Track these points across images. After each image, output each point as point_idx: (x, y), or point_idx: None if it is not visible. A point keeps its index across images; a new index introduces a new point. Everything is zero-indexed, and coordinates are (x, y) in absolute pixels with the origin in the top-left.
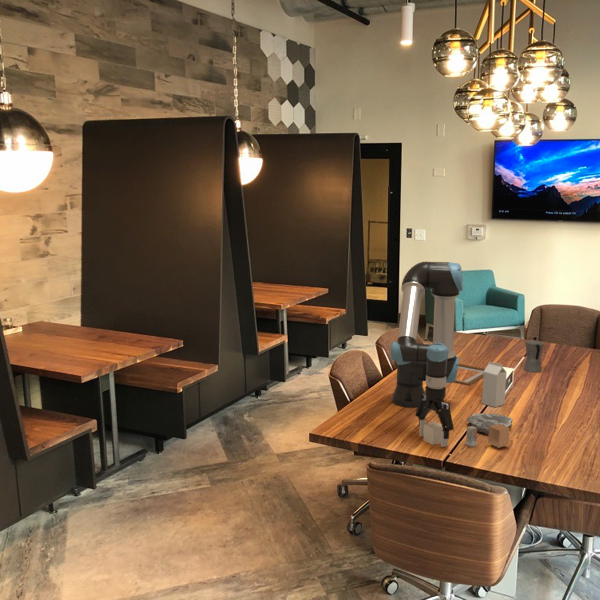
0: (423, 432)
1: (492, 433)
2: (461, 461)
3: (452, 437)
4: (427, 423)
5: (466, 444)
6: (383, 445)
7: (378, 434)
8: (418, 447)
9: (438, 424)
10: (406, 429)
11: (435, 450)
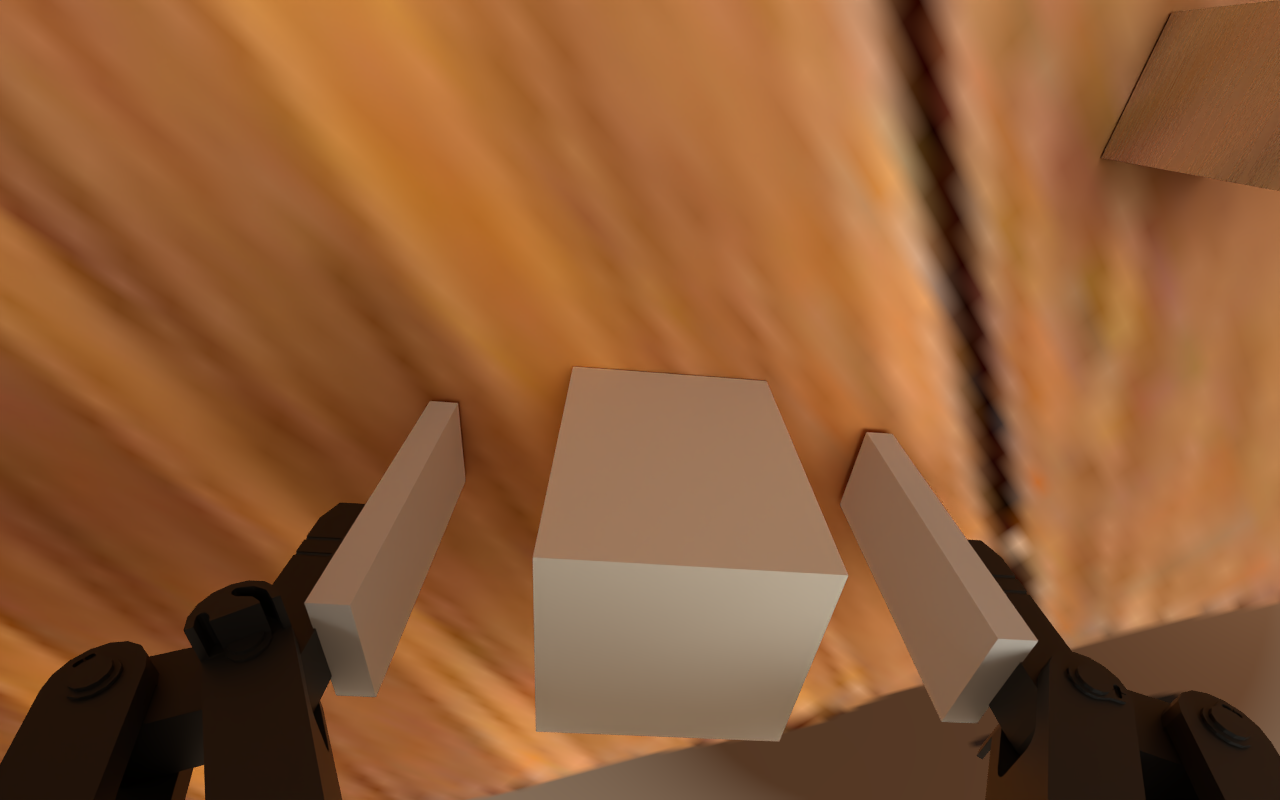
0: (446, 471)
1: None
2: (1192, 575)
3: (747, 86)
4: (544, 688)
5: (1114, 159)
6: (478, 768)
7: None
8: None
9: (714, 594)
10: (145, 437)
11: None
